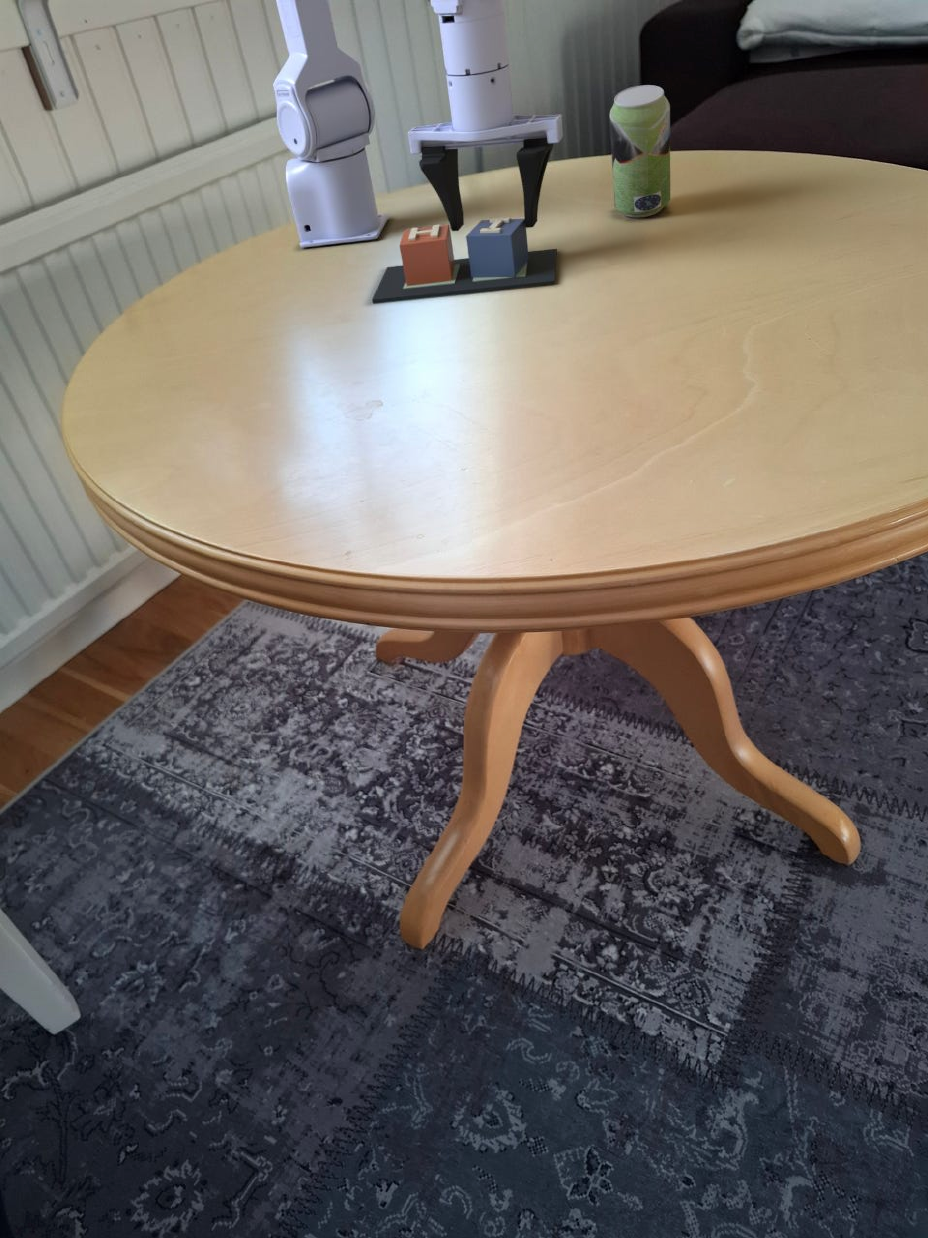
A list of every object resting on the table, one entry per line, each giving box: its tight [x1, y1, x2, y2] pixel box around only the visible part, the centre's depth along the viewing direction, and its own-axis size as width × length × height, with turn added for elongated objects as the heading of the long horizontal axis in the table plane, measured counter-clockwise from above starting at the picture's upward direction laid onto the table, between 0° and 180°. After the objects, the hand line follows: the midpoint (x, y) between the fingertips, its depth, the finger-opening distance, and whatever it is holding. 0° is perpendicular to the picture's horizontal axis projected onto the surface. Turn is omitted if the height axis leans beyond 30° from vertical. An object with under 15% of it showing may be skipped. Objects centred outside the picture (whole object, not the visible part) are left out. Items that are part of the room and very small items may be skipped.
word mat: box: [371, 248, 558, 304], centre depth 89 cm, size 18×9×1 cm, turn 84°
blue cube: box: [465, 217, 529, 277], centre depth 87 cm, size 5×5×4 cm
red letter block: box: [399, 223, 455, 286], centre depth 89 cm, size 5×5×4 cm
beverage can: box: [608, 84, 671, 219], centre depth 93 cm, size 6×7×12 cm
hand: (494, 225), depth 88 cm, fingers open, 7 cm apart
